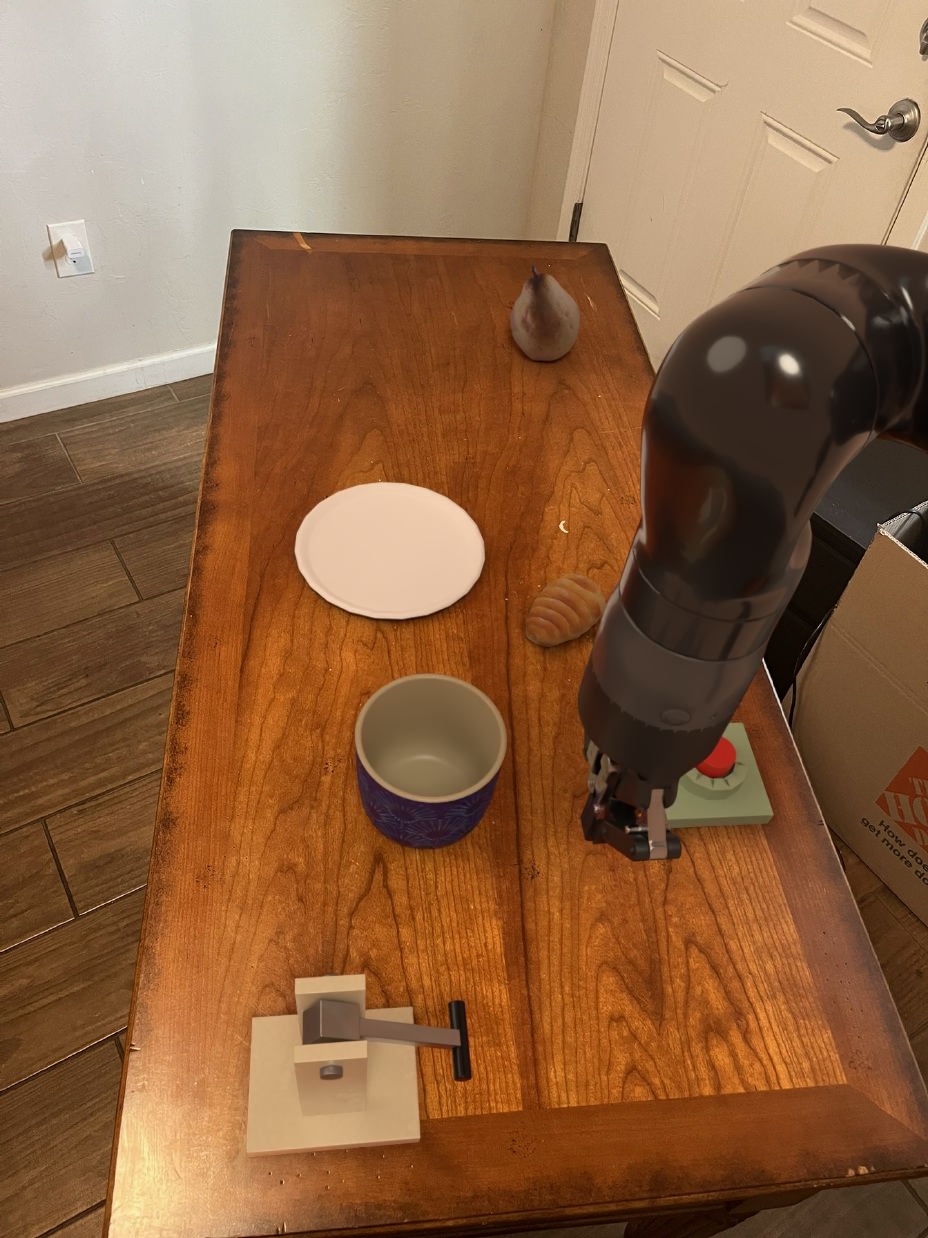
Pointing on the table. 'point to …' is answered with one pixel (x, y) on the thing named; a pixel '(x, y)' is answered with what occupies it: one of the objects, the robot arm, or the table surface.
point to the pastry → (564, 610)
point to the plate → (389, 551)
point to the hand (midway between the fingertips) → (598, 829)
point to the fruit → (544, 318)
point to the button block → (723, 792)
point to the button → (719, 760)
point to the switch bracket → (329, 1080)
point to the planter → (428, 758)
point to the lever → (389, 1031)
